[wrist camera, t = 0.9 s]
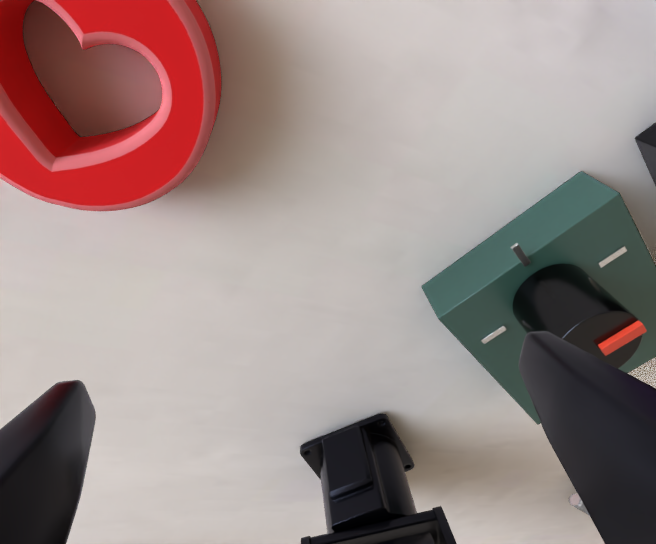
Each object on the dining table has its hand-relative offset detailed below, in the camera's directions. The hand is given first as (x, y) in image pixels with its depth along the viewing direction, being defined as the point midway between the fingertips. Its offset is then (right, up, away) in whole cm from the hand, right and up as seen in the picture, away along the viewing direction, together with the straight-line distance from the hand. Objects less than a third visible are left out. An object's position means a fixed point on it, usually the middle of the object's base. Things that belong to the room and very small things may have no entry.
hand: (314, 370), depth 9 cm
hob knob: (+12, +1, +14) cm, 18 cm away
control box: (+13, +1, +18) cm, 22 cm away
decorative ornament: (-9, +10, +9) cm, 16 cm away
